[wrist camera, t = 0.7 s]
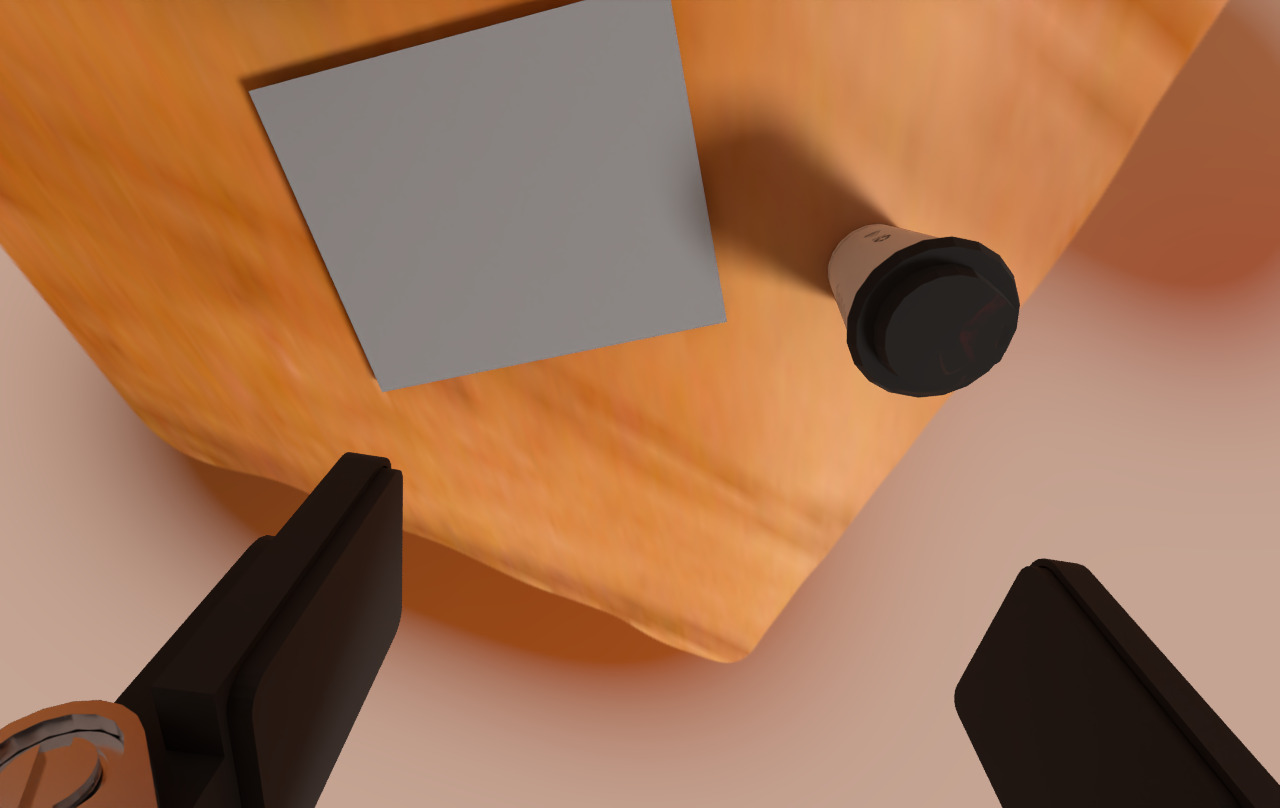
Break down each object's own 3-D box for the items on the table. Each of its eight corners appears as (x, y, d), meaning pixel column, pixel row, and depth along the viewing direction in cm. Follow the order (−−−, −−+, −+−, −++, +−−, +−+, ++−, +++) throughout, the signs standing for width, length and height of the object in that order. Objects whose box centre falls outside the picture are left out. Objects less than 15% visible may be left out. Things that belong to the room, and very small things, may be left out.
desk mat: (666, -19, 29) (666, -22, 28) (725, 315, 36) (727, 321, 35) (260, 90, 31) (248, 91, 31) (388, 384, 38) (382, 392, 38)
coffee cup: (796, 326, 36) (842, 409, 27) (815, 197, 33) (874, 242, 24) (922, 331, 36) (1009, 415, 27) (953, 202, 33) (1062, 249, 24)
